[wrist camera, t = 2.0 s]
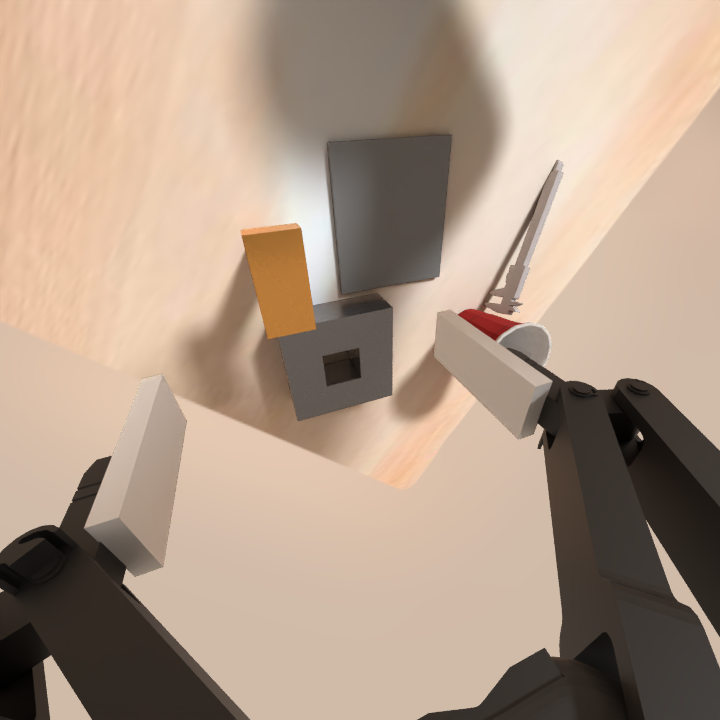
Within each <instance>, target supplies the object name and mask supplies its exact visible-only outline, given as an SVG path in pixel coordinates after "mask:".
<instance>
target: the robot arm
mask: <svg viewBox="0 0 720 720" xmlns="http://www.w3.org/2000/svg"><path fill="white" fill-rule="evenodd" d="M434 357H435V358H436V359H437V360H438V361H439V362H440V363H441V364H442V365H443V366H444V367H445V368H446V369H447V370H448V371H449V372H450V373H451V374H452V375H453V376H454V377H455V378H456V379H457V380H458V381H459V382H460V383H461V384H462V385H463V386H464V387H465V388H466V389H467V390H468V391H469V392H470V393H471V394H472V395H473V396H474V397H475V398H476V399H477V400H478V401H479V402H481V403H482V404H483V405H484V406H485V407H486V408H487V409H488V410H489V411H490V412H491V413H492V414H493V415H494V416H495V417H496V418H497V419H498V420H499V421H500V422H501V423H502V424H503V425H504V426H505V427H506V428H507V429H508V430H509V431H510V432H511V433H512V434H513V435H514V436H515V437H516V438H517V439H518V440H519V439H521V438H524V437H527V436H530V435H532V434H534V432H535V429H536V426H537V424H539V425H540V426H542V427H543V428H544V431H543V434H542V436H541V439H540V441H539V444H538V449H541V446H542V445H543V446H544V455H545V464H546V473H547V482H548V490H549V500H550V508H551V517H552V526H553V535H554V544H555V552H556V562H557V570H558V579H559V587H560V596H561V605H562V627H561V632H560V644H559V646H560V657H550V655H549V654H548V652H547V651H546V649H545V648H543V649H542V650H540V651H538V652H536V653H535V654H533V655H531V656H529V657H528V658H526V659H524V660H522V661H520V662H519V663H517V664H515V665H513V666H512V667H510V668H509V669H508V670H507V672H506V673H505V674H504V675H503V677H502V678H501V679H500V680H499V682H498V683H497V684H496V686H495V687H494V688H493V689H492V691H491V692H490V693H489V694H488V696H487V697H486V698H485V700H484V701H483V702H482V703H481V704H480V705H479V706H477V707H474V708H467V709H459V710H451V711H443V712H435V713H428V714H427V715H425V716H423V717H421V718H420V719H418V720H720V668H719V665H718V663H717V660H716V658H715V655H714V653H713V650H712V648H711V645H710V642H709V640H708V637H707V635H706V632H705V630H704V628H703V626H702V624H701V622H700V620H699V618H698V616H697V615H696V614H695V613H694V611H693V610H692V609H691V608H690V607H688V606H686V605H684V604H682V603H680V602H678V601H677V600H676V599H675V597H674V596H673V594H672V592H671V589H670V586H669V584H668V581H667V578H666V575H665V572H664V570H663V567H662V564H661V561H660V559H659V556H658V553H657V550H656V547H655V544H654V542H653V539H652V536H651V533H650V530H649V528H648V525H647V522H648V523H649V525H650V527H651V528H652V530H653V532H654V533H655V535H656V536H657V538H658V539H659V541H660V543H661V544H662V546H663V547H664V549H665V551H666V552H667V554H668V555H669V557H670V559H671V560H672V562H673V563H674V565H675V567H676V568H677V570H678V571H679V573H680V575H681V576H682V578H683V579H684V581H685V582H686V584H687V586H688V587H689V588H690V590H691V592H692V594H693V595H694V597H695V598H696V600H697V601H698V603H699V605H700V606H701V608H702V610H703V611H704V613H705V614H706V616H707V618H708V619H709V621H710V622H711V624H712V625H713V627H714V629H715V630H716V632H717V633H718V635H719V636H720V451H719V450H718V449H717V448H716V447H715V446H714V445H713V444H712V443H711V442H710V441H709V440H708V439H707V438H706V437H705V436H704V435H703V434H702V433H701V432H700V431H699V430H698V429H697V428H696V427H695V426H694V425H693V424H692V423H691V422H690V421H689V420H688V419H687V418H686V417H685V416H684V415H683V414H682V413H681V412H680V411H679V410H678V409H677V408H676V407H675V406H674V405H673V404H672V403H671V402H670V401H669V400H668V399H667V398H666V397H665V396H664V395H663V394H662V393H661V392H660V391H659V390H658V389H657V388H655V387H654V386H652V385H650V384H648V383H646V382H644V381H640V380H638V379H630V378H626V379H621V380H619V381H618V382H617V384H616V386H615V388H614V389H612V390H597V389H595V388H594V387H592V386H591V385H588V384H586V383H583V382H578V381H567V382H565V381H563V380H562V379H560V378H559V377H557V376H556V375H554V374H553V373H551V372H550V371H548V370H547V369H546V368H544V367H543V366H541V365H540V364H539V365H538V364H537V362H535V361H534V360H532V359H530V358H529V357H528V356H526V355H525V354H523V353H522V352H520V351H517V350H515V349H512V348H504V347H503V346H502V345H500V344H499V343H497V342H496V341H494V340H493V339H492V338H490V337H489V336H487V335H486V334H484V333H483V332H481V331H480V330H479V329H477V328H476V327H474V326H473V325H471V324H470V323H469V322H467V321H466V320H464V319H463V318H461V317H460V316H459V315H457V314H456V313H454V312H453V311H451V310H447V311H442V312H438V313H437V324H436V336H435V347H434ZM186 422H187V420H186V419H185V417H184V415H183V413H182V411H181V409H180V407H179V405H178V403H177V401H176V399H175V397H174V395H173V393H172V391H171V390H170V388H169V386H168V384H167V382H166V380H165V378H164V376H163V374H160V375H156V376H151V377H147V378H142V381H141V383H140V386H139V388H138V391H137V393H136V396H135V399H134V402H133V404H132V406H131V409H130V411H129V414H128V417H127V419H126V422H125V424H124V427H123V429H122V432H121V434H120V437H119V440H118V442H117V445H116V447H115V450H114V452H113V455H112V456H109V457H105V458H102V459H98V460H96V461H95V462H94V463H93V464H92V466H91V467H90V468H89V469H88V470H87V471H86V472H85V473H84V475H83V477H82V479H81V482H80V484H79V486H78V488H77V489H78V491H76V492H75V495H74V497H73V499H72V501H73V502H72V503H70V506H69V508H68V510H67V513H66V514H65V517H64V519H63V521H62V523H61V525H60V527H59V528H58V527H56V526H54V525H46V526H41V527H38V528H36V529H33V530H30V531H28V532H26V533H25V534H23V535H21V536H20V537H18V538H16V539H15V540H14V541H13V542H12V543H10V544H9V545H8V546H7V547H6V548H4V549H3V550H2V551H1V553H0V588H1V589H2V590H4V591H3V592H1V593H0V720H50V715H49V706H48V698H47V689H46V681H45V673H44V664H43V660H44V659H46V658H47V657H49V656H50V655H52V657H53V658H54V660H55V662H56V663H57V665H58V666H59V668H60V670H61V671H62V673H63V674H64V676H65V678H66V679H67V681H68V682H69V684H70V685H71V687H72V689H73V690H74V692H75V693H76V695H77V696H78V698H79V700H80V701H81V703H82V704H83V706H84V708H85V709H86V711H87V712H88V714H89V715H90V717H91V718H92V720H250V719H249V718H248V717H247V716H246V715H245V714H244V713H243V712H242V710H241V709H240V708H239V707H238V706H237V705H236V704H235V703H234V702H233V701H232V700H231V699H230V697H229V696H228V695H227V694H226V693H225V692H224V691H223V690H222V689H221V688H220V687H219V686H218V685H217V684H216V682H215V681H214V680H213V679H212V678H211V677H210V676H209V675H208V674H207V673H206V672H205V671H204V670H203V668H202V667H201V666H200V665H199V664H198V663H197V662H196V661H195V660H194V659H193V658H192V657H191V656H190V655H189V654H188V652H187V651H186V650H185V649H184V648H183V647H182V646H181V645H180V644H179V643H178V642H177V641H176V639H175V638H174V637H173V636H172V635H171V634H170V633H169V632H168V631H167V630H166V629H165V628H164V627H163V626H162V624H161V623H160V622H159V621H158V620H157V619H156V618H155V617H154V616H153V615H152V614H151V613H150V612H149V610H148V609H147V608H146V607H145V606H144V605H143V604H142V603H141V602H140V601H139V600H138V599H137V598H136V597H135V595H134V594H132V592H131V591H130V590H129V589H128V588H127V587H126V586H125V585H124V584H123V583H122V582H123V578H124V574H125V570H126V569H127V570H128V571H130V572H131V573H132V574H133V575H134V576H135V577H136V576H139V575H141V574H145V573H147V572H150V571H153V570H156V569H158V568H161V567H163V565H164V559H165V553H166V546H167V540H168V534H169V528H170V522H171V515H172V509H173V503H174V497H175V491H176V484H177V478H178V472H179V466H180V460H181V453H182V447H183V441H184V435H185V428H186ZM639 431H640V432H641V434H642V435H643V438H644V440H643V441H642V440H641V439H640V438H639V437H638V435H637V434H638V433H639ZM646 520H647V522H646Z"/></svg>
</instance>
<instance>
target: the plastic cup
mask: <svg viewBox="0 0 720 720" xmlns="http://www.w3.org/2000/svg"><path fill="white" fill-rule="evenodd" d="M458 315H459V316H460V317H461V318H463V319H464V320H466V321H467V322H469V323H470V324H471V325H473V326H474V327H476V328H477V329H479V330H480V331H481V332H483V333H484V334H486V335H487V336H489V337H490V338H492V339H493V340H494V341H496V342H497V343H499V344H500V345H502V346H503V347H504V348H512V349H515V350H517V351H520V352H522V353H523V354H525V355H526V356H528V357H529V358H530V359H532V360H534V361H535V362H537V364H538V365H539V364H540V365H541V366H543V367H544V366H545V364H546V363H547V361H548V359H549V355H550V351H551V347H552V343H551V337H550V333H549V332H548V331H547V329H546V328H545V327H544V326H543V325H540V324H535V323H531V322H527V323H517V322H514V321H510V320H507V319H504V318H501V317H498V316H495V315H492V314H488V313H485V312H482V311H479V310H475V309H468V310H464V311H463V312H461V313H460V314H458Z"/></svg>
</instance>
